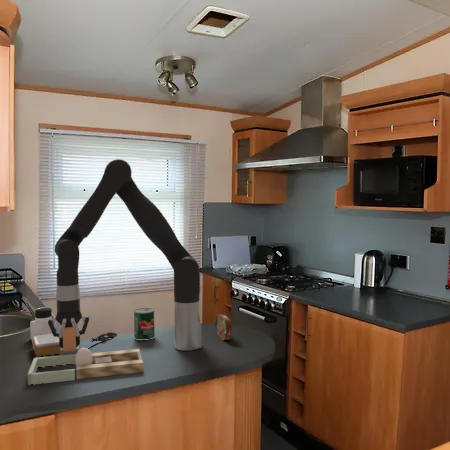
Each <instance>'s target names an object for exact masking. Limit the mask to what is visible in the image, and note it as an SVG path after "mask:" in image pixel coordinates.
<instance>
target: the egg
mask: <svg viewBox="0 0 450 450" xmlns="http://www.w3.org/2000/svg"><path fill="white" fill-rule="evenodd" d="M91 353H92V352H91V350H90V348H89V349H88V348H85V347H83V348H81V349H79V351H78V352H77V354H76V357H75V363H76V364H75V367H77V366H82V365H91V364H92V354H91Z"/></svg>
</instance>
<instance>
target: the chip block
mask: <svg viewBox="0 0 450 450" xmlns="http://www.w3.org/2000/svg"><path fill="white" fill-rule="evenodd" d="M102 363H112V359H111V356H110V357H102V358H95V364H102Z"/></svg>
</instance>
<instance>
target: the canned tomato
mask: <svg viewBox="0 0 450 450" xmlns="http://www.w3.org/2000/svg"><path fill="white" fill-rule="evenodd" d="M133 320H134V321H133V325H134V326H133V328H134V329H133V333H134V337H135V338H136V339H150V338H153V337H154V336H155V334H156V332H155V309H154V308H152V307H142V308H141V307H140V308H135V309H134V310H133ZM134 337H133V338H134Z"/></svg>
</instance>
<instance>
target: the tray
mask: <svg viewBox="0 0 450 450" xmlns="http://www.w3.org/2000/svg"><path fill="white" fill-rule="evenodd" d="M75 357H76V354H72V355H61V356H60V355H51V356H43V357H33V360H32V362H31V365H30V368H29V369H28V372H27V378H26V379H27V386H31V384H33V385H40V384H42V383H43V384H50V383H59V382H68V381H75V380H76V369H75V368H72V369H71V368H69V369H61V370H51V371H50V370H49V371H41V372H36V371H38V369H39V368H38V367H42V368H46V367H45V366H53V367H57V366H56V365H63V366H67V365H66V364H73V365H76V364H75ZM37 368H38V369H37Z"/></svg>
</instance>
